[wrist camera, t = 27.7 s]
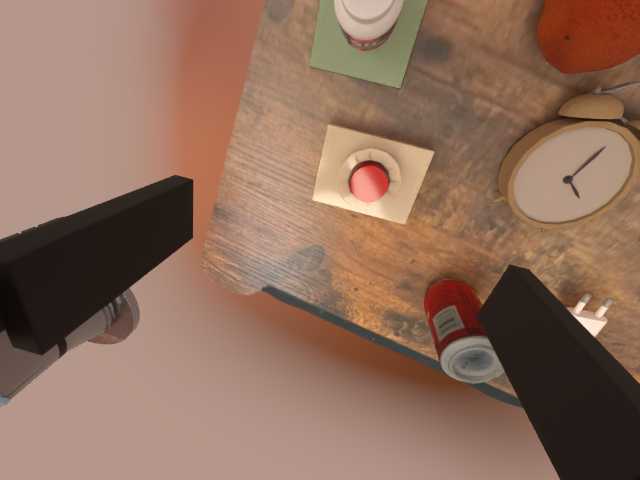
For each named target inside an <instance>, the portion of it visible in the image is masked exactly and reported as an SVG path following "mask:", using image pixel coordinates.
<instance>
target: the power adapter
mask: <svg viewBox="0 0 640 480" xmlns="http://www.w3.org/2000/svg"><path fill="white" fill-rule="evenodd" d="M590 298H591V295H590V294H589V293H585V294H584V295H583V296H582V298H581V299H580V301H579V302H578V304H577V305H576V306H575V307H574V308H570V307H566V308H567V309H568V310H569V311H570V312H571V313H572V314H573V316H574V317H575V318H576V319H577V320H578V321H579V322H580V323H581V324H582V325H583V326H584V327H585V328H586V329H587V330H588V331H589V332H590V333H591V334H592V335H593V336H594V337H595V336H596V335H597V334H598V333H599V331H600V330H601V329H602V328H603V327H604V325H605V324H606V323H607V319H606V318H605V317H604V316H603V315H604V313H605V312H606V310H607V309H608V308H609V307H610V306H611V305H612V303H613V302H614V299H612V298H610V297H608V298H606V299H605V301H604V302H603V303H602V305H601V306H600V308H599V309H598V310H597V311H596V312H595V313H594V312H591V311H586V310H582V309H583V307H584V306H585V305H586V304H587V302H588V301H589V300H590Z"/></svg>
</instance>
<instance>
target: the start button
mask: <svg viewBox="0 0 640 480" xmlns="http://www.w3.org/2000/svg"><path fill="white" fill-rule="evenodd" d="M350 188H351V192H352V194H353V195H354V196H355V197H356V198H357V199H358V200H360V201H362V202H367V203H370V202H375V201H377V200H379V199H381V198H382V197H383V196H384V194H385V193H386V191H387V188H388V178H387V175H386V172H385V170H384V169H383V168H382V167H381V166H380V165H378V164H376V163H364V164H362V165H360V166H358V167H357V168H356V169H355V170H354V172H353V174H352V177H351V181H350Z"/></svg>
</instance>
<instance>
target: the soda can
mask: <svg viewBox="0 0 640 480" xmlns="http://www.w3.org/2000/svg"><path fill="white" fill-rule="evenodd" d="M482 306H483V305H482V303H481V301H480V300H479V298H478V296H477V294H476V293H475V291H474V290H473V289H472V288H470V287H469V286H467V285H465V284H463V283H462V282H460V281H458V280H455V279H442V280H439V281H437V282H435V283H434V284H432V285H431V286H430V288H429V289H428V291H427V295H426V296H425V300H424V308H425V312H426V316H427V319H428V323H429V326H430V330H431V333H432V337H433V340H434V344H435V347H436V351H437V354H438V358H439V362H440V365H441V367H442V369H443V370H444V371H445V372H446V373H447V374H448V375H449V376H451V377H453V378H455V379H457V380H460V381H464V382H468V383H481V382H486V381H489V380H491V379H494V378H496V377H498V376H499V375H501V374H502V373H503V372H504V369H503V367H502V365H501V363H500V361H499V359H498V357H497V355H496V353H495V351H494V349H493V347H492V345H491V343H490V341H489V339H488V337H487V336H486V334H485V332H484V330H483V328H482V326H481V324H480V322H479V320H478V318H477V316H476V315H477V314H478V312H479V311H480V309H481V308H482Z"/></svg>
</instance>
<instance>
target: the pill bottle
mask: <svg viewBox="0 0 640 480" xmlns="http://www.w3.org/2000/svg"><path fill="white" fill-rule="evenodd" d="M403 3H404V0H334V7H335V13H336V17H337V20H338V22H339V26H340V28H341V32H342V34H343V36H344V38H345V40H346V41H347V43H348V44H349V45H350V46H351V47H352V48H354V49H356V50H358V51H361V52H370V51H373V50H376V49H378V48H379V47H381V46H382V45H383V44H384V43H385V42H386V41H387V40H388V39H389V37H390V36H391V34H392V32H393V30H394V28H395V25H396V22H397V20H398V18H399V15H400V13H401V10H402V7H403Z"/></svg>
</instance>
